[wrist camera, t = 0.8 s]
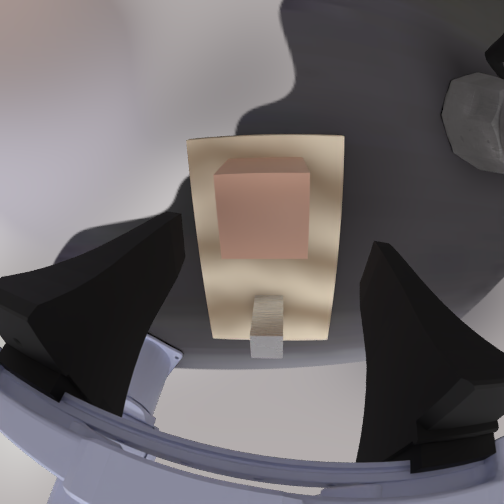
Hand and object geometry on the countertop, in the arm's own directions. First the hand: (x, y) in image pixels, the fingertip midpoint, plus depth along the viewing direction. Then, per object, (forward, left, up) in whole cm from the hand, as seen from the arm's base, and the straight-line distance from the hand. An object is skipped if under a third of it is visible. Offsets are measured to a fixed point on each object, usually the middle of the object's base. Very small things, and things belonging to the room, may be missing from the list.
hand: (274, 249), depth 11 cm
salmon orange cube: (-2, 0, -13) cm, 13 cm away
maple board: (-6, -3, -14) cm, 15 cm away
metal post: (-11, -6, -13) cm, 18 cm away
